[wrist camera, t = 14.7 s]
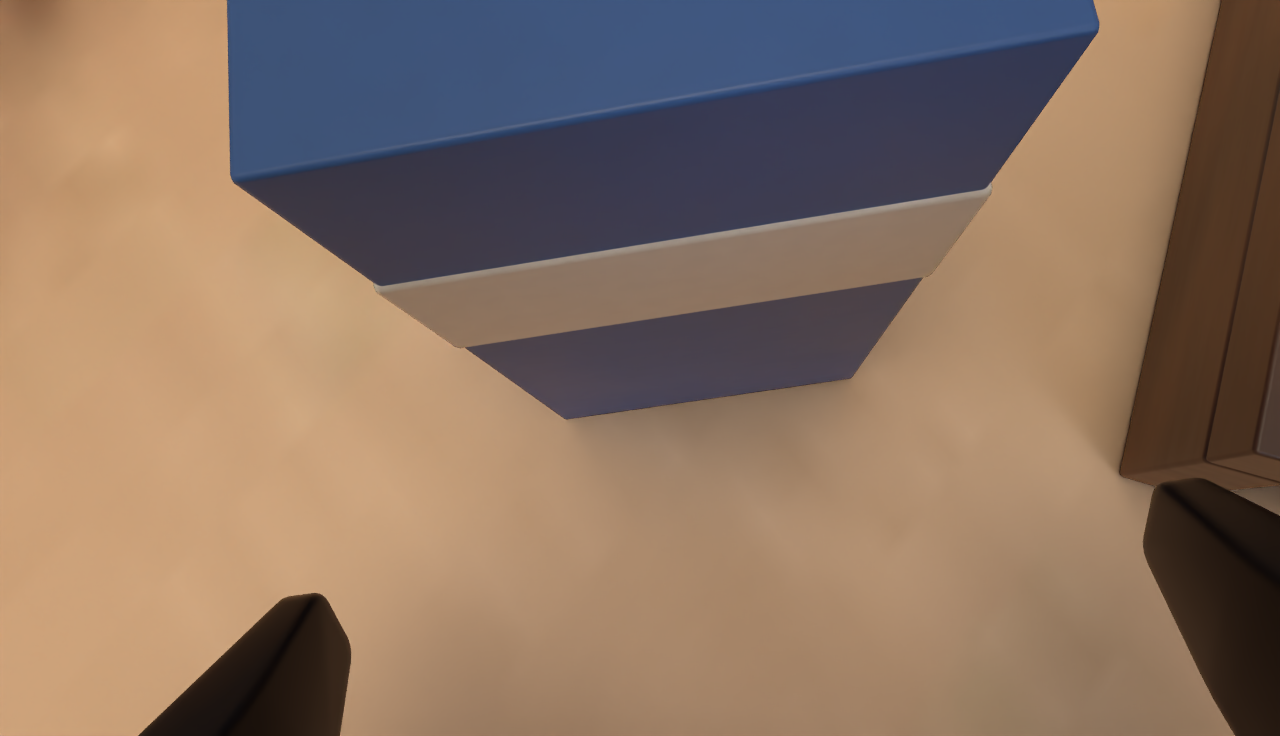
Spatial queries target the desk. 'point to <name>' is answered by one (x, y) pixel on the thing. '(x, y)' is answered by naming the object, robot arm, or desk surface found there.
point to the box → (642, 170)
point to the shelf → (1221, 279)
